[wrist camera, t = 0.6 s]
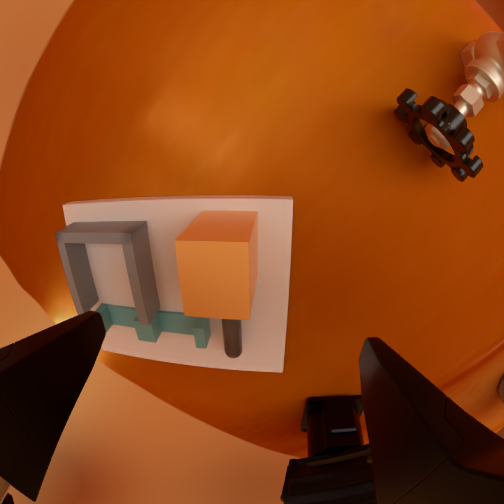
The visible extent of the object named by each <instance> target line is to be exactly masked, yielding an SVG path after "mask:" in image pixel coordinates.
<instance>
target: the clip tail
mask: <svg viewBox="0 0 504 504" xmlns="http://www.w3.org/2000/svg"><path fill="white" fill-rule="evenodd" d="M95 311H97V312H99V313H100V314H101V316H102V319H103V322H104V326H105V329H106V333H107V331H108V330H109V329H110V327H111V326H112V325H119V326H126V327H132V328H135V330H136V333H137V337H138V340H141V341H147V340H146V336H145V332H144V329H143V325H140V324H139V320H138V316H137V312H136V308H135V307H127V306H119V305H111V304H104V303H101V305H100V306H99V307H98V308H97V309H96V310H95Z"/></svg>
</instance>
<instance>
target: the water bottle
mask: <svg viewBox="0 0 504 504" xmlns="http://www.w3.org/2000/svg"><path fill="white" fill-rule="evenodd" d="M499 396H500V398H501V400H502V401H503V403H504V377H503V379H502V381H501V383H500V385H499Z"/></svg>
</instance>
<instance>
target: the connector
mask: <svg viewBox="0 0 504 504" xmlns="http://www.w3.org/2000/svg"><path fill="white" fill-rule="evenodd" d="M174 241H175V250H176V258H177V266H178V274H179V281H180V289H181V295H182V302H183V309H184V315H185V316H193V317H206V318H219V319H222V329H223V340H224V351H225V354H226V355H227V356H228V357H229V358H238V357H239V356H240V355H241V354H242V326H241V320H250V317H251V311H252V305H253V299H254V294H255V288H256V282H257V276H258V211H202V212H201V213H200V214H199V215H198V216H197V217H196V218H195V219H194V220H193V221H192V222H191V223H190V224H189V226H188V227H187V228H186V229H185V230H184V231H183V232H182V233H181V234H180V235H179V236H178V237H177V238H176V239H175V240H174Z"/></svg>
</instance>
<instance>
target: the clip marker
mask: <svg viewBox="0 0 504 504" xmlns="http://www.w3.org/2000/svg"><path fill="white" fill-rule="evenodd" d="M143 329H144V332H145V336H146V340H147V342H154V343H156V342H157V340H158V338H159V336H160V334H161V332H169V333H178V334H187V335H194V338H195V344H196V348H203V349H206V348H207V345H208V342H209V339H210V336H211V331H210V322H209V318H206V317H193V316H185V315H184V313H183V312H172V311H162V310H159V311H158V312H157V314H156V315H155V317H154V319H153V320H152V322H151V323H150V325H149V326H148V325H143Z"/></svg>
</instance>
